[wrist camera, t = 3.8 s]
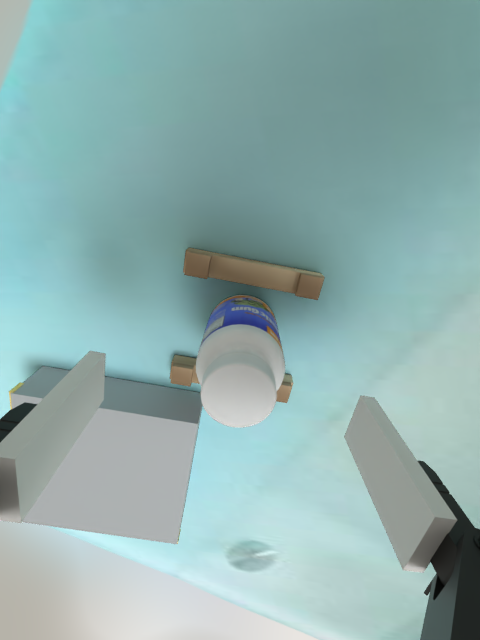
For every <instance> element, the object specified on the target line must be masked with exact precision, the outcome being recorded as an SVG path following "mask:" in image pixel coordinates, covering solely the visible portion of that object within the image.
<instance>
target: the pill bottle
mask: <svg viewBox="0 0 480 640" xmlns="http://www.w3.org/2000/svg"><path fill="white" fill-rule="evenodd" d="M196 374H197V378H198V381H199V383H200V385H201V402H202V405H203V407H204V409H205V410H206V412H207V413H208V414H209V415H210V416H211V417H212V418H213V419H214V420H216V421H217V422H219V423H221V424H223V425H226V426H230V427H249V426H253V425H255V424H258V423H260V422H261V421H263V420H264V419H265V418H267V417H268V416H269V414H270V413H271V412H272V410H273V408H274V406H275V403H276V399H277V390H278V389H279V387H280V386H281V384H282V381H283V379H284V374H285V361H284V355H283V351H282V346H281V342H280V337H279V333H278V328H277V323H276V319H275V316H274V314H273V312H272V310H271V309H270V308H269V306H268V305H267V304H266V303H264V302H263V301H262V300H260V299H258V298H256V297H253V296H250V295H235V296H232V297H229V298H227V299H225V300H223V301H222V302H221V303H219V304H218V305H217V306H216V307H215V309H214V310H213V312H212V313H211V315H210V318H209V321H208V323H207V326H206V329H205V333H204V336H203V339H202V342H201V345H200V348H199V351H198V355H197V359H196Z"/></svg>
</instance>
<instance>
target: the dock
mask: <svg viewBox="0 0 480 640" xmlns="http://www.w3.org/2000/svg"><path fill="white" fill-rule="evenodd" d="M69 372H70V370H64V369H58V368H52V367H47V366H42V367H41V368H40V369H39V370H38V371H36V372H35V373H34V374H33V375H32V376H30V377H29V378H28V379H27V380H26V381H24V382H23V383H19V384H18V385H16V386H15V387H14V388H13V389H12V390H10V391H9V396H10V406H11V409H13V408H15V407H17V406H19V405H21V404H23V403H24V402H26V403H33V404H38V403H39V402H40V401H41V400H42V399H43V398H44V397H45V396H46V395H47V394H48V393H49V392H50V391H51V390H52V389H53V388H54V387H55V386H56V385H57V384H58V383H59V382H60V381H61V380H62V379H63V378H64V377H65V376H66V375H67V374H68V373H69ZM201 411H202V402H201V393H200V392H194V391H188V390H182V389H176V388H170V387H164V386H158V385H152V384H147V383H141V382H135V381H129V380H123V379H117V378H111V377H105V382H104V400H103V402H102V403H101V405H100V406H99V408H98V409H97V411H96V412H95V414H94V415H93V417H92V418H91V420H90V421H89V422H88V424H87V425H86V427H85V428H84V430H83V431H82V433H81V434H80V436H79V437H78V439H77V440H76V442H75V443H74V445H73V446H72V448H71V449H70V451H69V452H68V454H67V455H66V457H65V458H64V460H63V461H62V463H61V464H60V466H59V467H58V469H57V470H56V472H55V473H54V475H53V476H52V478H51V479H50V481H49V482H48V484H47V485H46V487H45V488H44V490H43V491H42V493H41V494H40V496H39V497H38V499H37V500H36V502H35V503H34V505H33V506H32V508H31V509H30V511H29V512H28V514H27V515H26V517H25V518H24V520H23V521H22V522H25V523H32V524H39V525H46V526H53V527H60V528H67V529H74V530H81V531H88V532H95V533H102V534H109V535H116V536H123V537H130V538H137V539H144V540H151V541H158V542H165V543H172V544H178V540H179V535H180V527H181V522H182V517H183V512H184V507H185V501H186V495H187V490H188V484H189V479H190V473H191V467H192V462H193V456H194V450H195V445H196V439H197V433H198V428H199V422H200V417H201Z"/></svg>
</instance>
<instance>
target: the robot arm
mask: <svg viewBox="0 0 480 640" xmlns="http://www.w3.org/2000/svg"><path fill="white" fill-rule="evenodd" d="M105 355H106V353H100V352H94V351H89V352H88V353H87V354H86V355H85V356H84V357H83V358H82V359H81V360H80V361H79V362H78V363H77V364H76V365H75V366H74V367H73V369H72V370H71V371H70V372H69V373H68V374H67V375H66V376H65V377H64V378H63V379H62V380H61V381H60V382H59V383H58V384H57V385H56V386H55V387H54V388H53V389H52V390H51V391H50V392H49V393H48V394H47V395H46V396H45V397H44V398H43V399H42V400H41V401H40V402H39V403H38V404H33V403H26V402H24V403H23V404H21V405H19V406H17V407H15V408H13V409H11V410H10V411H9V412H8V413H7V414H5V415H4V416H3V417H2V418H1V419H0V521H9V522H16V523H22V521H23V520H24V518H25V517H26V515H27V514H28V512H29V511H30V509H31V508H32V506H33V505H34V503H35V502H36V500H37V499H38V497H39V496H40V494H41V493H42V491H43V490H44V488H45V487H46V485H47V484H48V482H49V481H50V479H51V478H52V476H53V475H54V473H55V472H56V470H57V469H58V467H59V466H60V464H61V463H62V461H63V460H64V458H65V457H66V455H67V454H68V452H69V451H70V449H71V448H72V446H73V445H74V443H75V442H76V440H77V439H78V437H79V436H80V434H81V433H82V431H83V430H84V428H85V427H86V425H87V424H88V422H89V421H90V420H91V418H92V417H93V415H94V414H95V412H96V411H97V409H98V408H99V406H100V405H101V403H102V402H103V400H104V382H105ZM344 437H345V439H346V442H347V444H348V446H349V449H350V451H351V453H352V455H353V458H354V460H355V462H356V464H357V467H358V469H359V471H360V474H361V476H362V478H363V480H364V483H365V485H366V487H367V489H368V492H369V494H370V496H371V499H372V501H373V503H374V505H375V508H376V510H377V512H378V514H379V517H380V519H381V521H382V524H383V526H384V528H385V530H386V533H387V535H388V537H389V539H390V542H391V544H392V546H393V549H394V551H395V553H396V555H397V558H398V560H399V562H400V564H401V567H402V569H403V570H405V571H413V572H421V573H424V571H425V569H426V568H427V566H428V565H429V563H430V562H431V563H432V565H433V567H434V569H435V571H436V575H435V576H434V578H433V579H432V581H431V582H430V584H429V585H428V587H427V588H426V590H425V592H424V594H426V595H428V594H429V592H430V595H429V600H428V605H427V609H426V614H425V619H424V624H423V629H422V634H421V639H420V640H480V529H477V528H475V527H474V526H473V525H472V523H471V522H470V520H469V519H468V518H467V516H466V515H465V513H464V512H463V511H462V509H461V508H460V506H459V505H458V504H457V502H456V501H455V499H454V498H453V497H452V495H451V494H449V491H448V490H447V488H446V487H445V485H443V483H442V481H441V480H440V478H439V477H438V476H437V474H436V473H435V472H434V471H433V470H432V469H431V468H430V467H429V466H428V465H427V464H426V463H425V462H423V461H417V460H416V458H415V457H414V455H413V454H412V452H411V451H410V449H409V448H408V446H407V445H406V443H405V442H404V440H403V439H402V438H401V436H400V435H399V433H398V432H397V430H396V429H395V427H394V426H393V424H392V423H391V421H390V420H389V418H388V417H387V415H386V414H385V412H384V411H383V409H382V408H381V407H380V405H379V404H378V402H377V401H376V399H375V398H374V397H368V396H362V395H360V398H359V400H358V403H357V405H356V408H355V410H354V413H353V416H352V418H351V421H350V423H349V426H348V428H347V431H346V433H345V436H344Z"/></svg>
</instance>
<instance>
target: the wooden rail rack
mask: <svg viewBox="0 0 480 640" xmlns="http://www.w3.org/2000/svg"><path fill="white" fill-rule="evenodd" d="M183 272H184V273H185V274H184V275H188V276H194V277H199V278H204V279H207V278H208V277H210V278H216V279H221V280H226V281H231V282H237V283H242V284H247V285H252V286H258V287H263V288H268V289H273V290H279V291H284V292H289V293H294V294H295V295H296V296H299V297H304V298H309V299H315V300H318V298H319V295H320V291H321V288H322V284H323V281H324V278H325V277H324V276H323V275H322V274H321V273H317V272H312V271H307V270H302V269H296V268H291V267H286V266H281V265H276V264H271V263H266V262H261V261H255V260H250V259H245V258H240V257H235V256H230V255H225V254H220V253H214V252H209V251H204V250H199V249H194V248H188V249H187V250H186V253H185V261H184V269H183ZM196 359H197V358H191V357H185V356H179V355H175V356H174V358H173V360H172V365H171V373H170V379H171V383H173V384H179V385H185V386H191V382H192V383H198V384H200V383H199V381H198V378H197V374H196ZM292 385H293V380H292V376H291V375H288V374H284V379H283V381H282V384H281V386H280V387H279V389H278V390H277V399H276V401H278V402H284V403H287V401H288V399H289V395H290V392H291V389H292Z"/></svg>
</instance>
